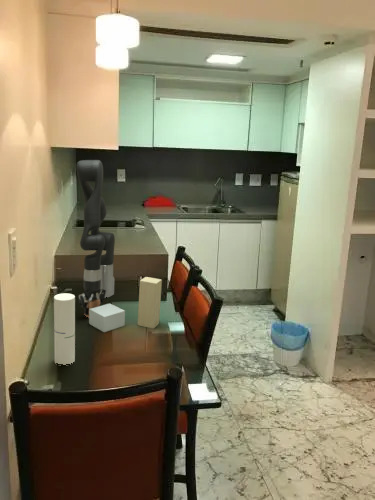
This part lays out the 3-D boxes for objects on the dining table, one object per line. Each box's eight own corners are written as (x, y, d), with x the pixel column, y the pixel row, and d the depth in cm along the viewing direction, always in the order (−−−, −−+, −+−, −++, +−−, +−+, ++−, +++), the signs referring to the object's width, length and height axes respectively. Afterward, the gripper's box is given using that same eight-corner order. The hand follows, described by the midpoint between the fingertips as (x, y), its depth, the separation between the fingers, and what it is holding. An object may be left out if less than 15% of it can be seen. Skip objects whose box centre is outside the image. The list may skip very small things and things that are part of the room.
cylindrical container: (56, 355, 167) (56, 292, 160) (76, 356, 167) (76, 293, 161) (52, 365, 160) (52, 300, 153) (73, 365, 160) (73, 300, 154)
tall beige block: (160, 322, 202) (162, 278, 197) (153, 328, 195) (156, 283, 190) (144, 319, 204) (146, 276, 199) (137, 325, 197) (139, 280, 192)
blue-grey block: (109, 317, 204) (109, 303, 202) (124, 325, 196) (125, 310, 195) (89, 323, 196) (89, 309, 194) (104, 332, 189) (104, 316, 187)
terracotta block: (93, 313, 207) (93, 297, 205) (99, 316, 204) (99, 300, 202) (84, 315, 203) (84, 299, 201) (90, 319, 200) (90, 302, 198)
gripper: (100, 273, 207) (99, 307, 211) (73, 278, 196) (73, 314, 201) (110, 277, 202) (109, 312, 206) (83, 283, 191) (83, 320, 196)
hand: (91, 313), depth 203 cm, fingers closed on terracotta block, 5 cm apart
